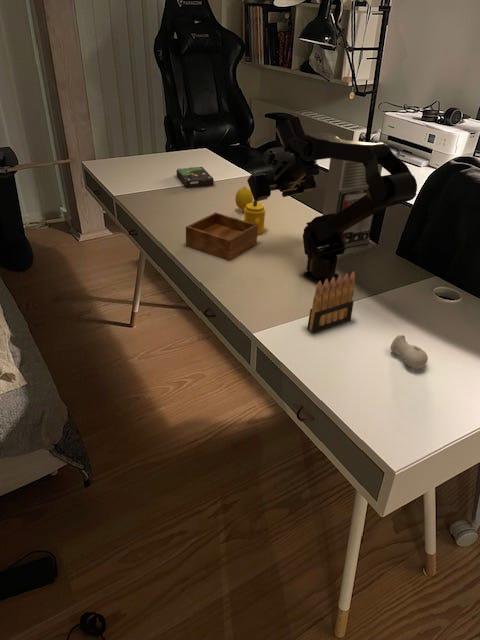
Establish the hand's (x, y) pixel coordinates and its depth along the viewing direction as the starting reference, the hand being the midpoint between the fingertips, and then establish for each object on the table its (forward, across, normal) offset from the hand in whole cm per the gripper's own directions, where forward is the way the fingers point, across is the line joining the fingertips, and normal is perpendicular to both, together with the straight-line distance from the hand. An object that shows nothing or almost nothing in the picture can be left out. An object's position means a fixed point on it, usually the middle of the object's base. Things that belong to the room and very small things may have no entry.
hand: (268, 197), depth 138 cm
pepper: (+13, 0, +4) cm, 14 cm away
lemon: (+24, -5, -6) cm, 25 cm away
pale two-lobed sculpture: (-34, +5, +52) cm, 62 cm away
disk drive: (+48, -4, -30) cm, 57 cm away
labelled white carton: (0, -19, +18) cm, 26 cm away
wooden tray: (+10, +13, +7) cm, 18 cm away
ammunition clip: (-22, +12, +40) cm, 47 cm away
